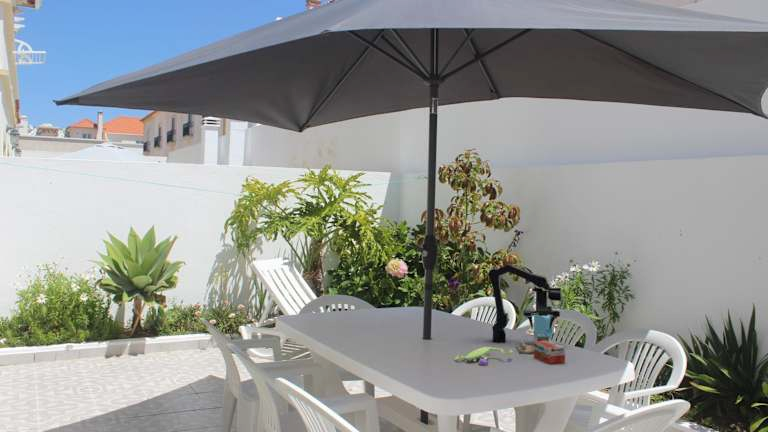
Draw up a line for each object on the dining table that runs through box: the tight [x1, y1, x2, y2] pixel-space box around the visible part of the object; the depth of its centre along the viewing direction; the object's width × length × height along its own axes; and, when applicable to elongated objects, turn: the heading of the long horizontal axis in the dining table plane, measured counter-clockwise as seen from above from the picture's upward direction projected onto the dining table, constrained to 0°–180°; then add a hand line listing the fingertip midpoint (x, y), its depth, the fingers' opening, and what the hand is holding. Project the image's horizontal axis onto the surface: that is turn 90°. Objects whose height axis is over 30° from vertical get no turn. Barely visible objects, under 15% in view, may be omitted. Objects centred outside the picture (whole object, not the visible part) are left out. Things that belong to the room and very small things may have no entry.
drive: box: [533, 332, 550, 342], centre depth 353 cm, size 6×10×5 cm, turn 179°
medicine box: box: [533, 340, 566, 365], centre depth 317 cm, size 15×8×8 cm, turn 18°
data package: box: [533, 315, 553, 339], centre depth 374 cm, size 12×4×12 cm, turn 19°
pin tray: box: [515, 340, 534, 355], centre depth 337 cm, size 16×16×4 cm
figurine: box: [454, 346, 514, 366], centre depth 317 cm, size 18×27×6 cm
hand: (540, 329), depth 353 cm, fingers open, 9 cm apart
